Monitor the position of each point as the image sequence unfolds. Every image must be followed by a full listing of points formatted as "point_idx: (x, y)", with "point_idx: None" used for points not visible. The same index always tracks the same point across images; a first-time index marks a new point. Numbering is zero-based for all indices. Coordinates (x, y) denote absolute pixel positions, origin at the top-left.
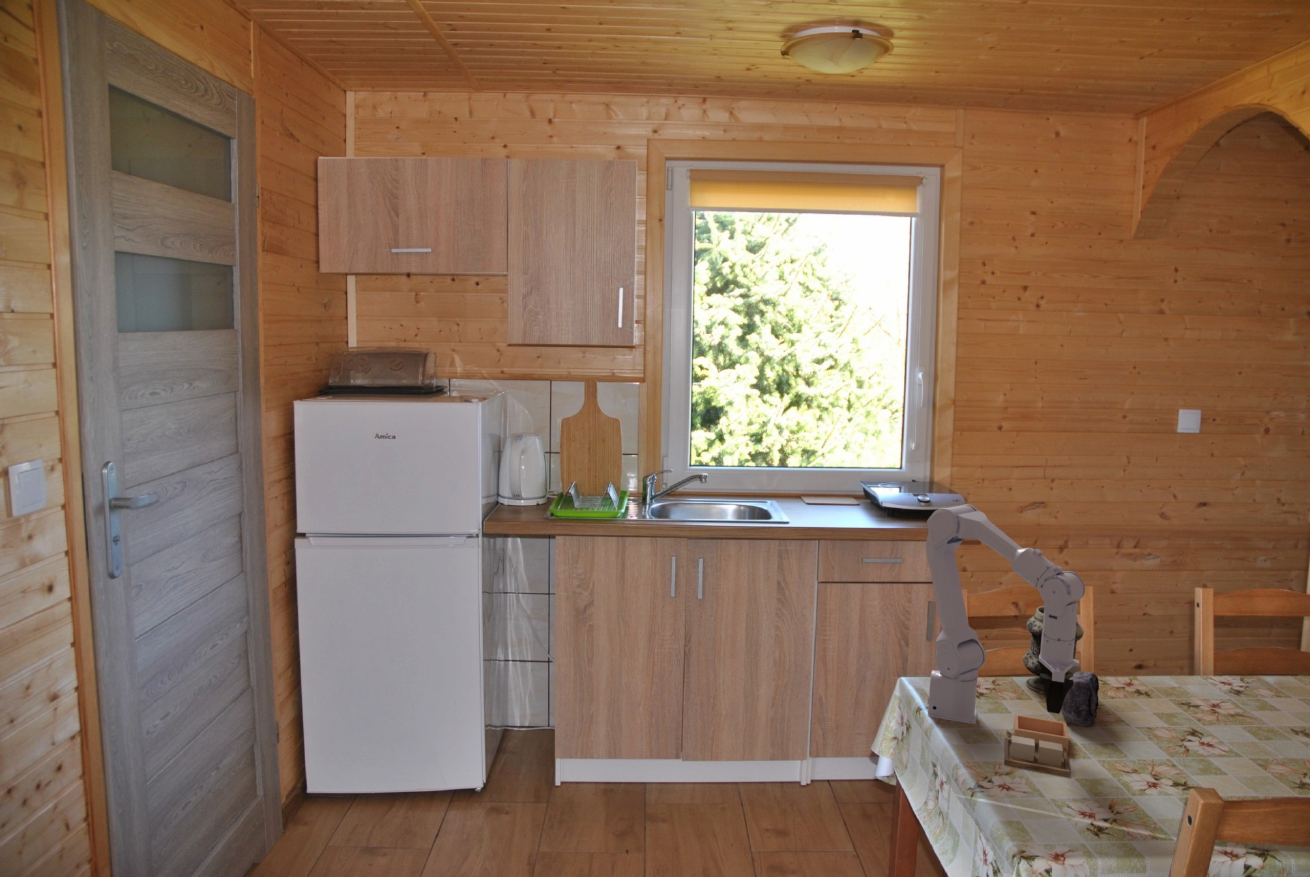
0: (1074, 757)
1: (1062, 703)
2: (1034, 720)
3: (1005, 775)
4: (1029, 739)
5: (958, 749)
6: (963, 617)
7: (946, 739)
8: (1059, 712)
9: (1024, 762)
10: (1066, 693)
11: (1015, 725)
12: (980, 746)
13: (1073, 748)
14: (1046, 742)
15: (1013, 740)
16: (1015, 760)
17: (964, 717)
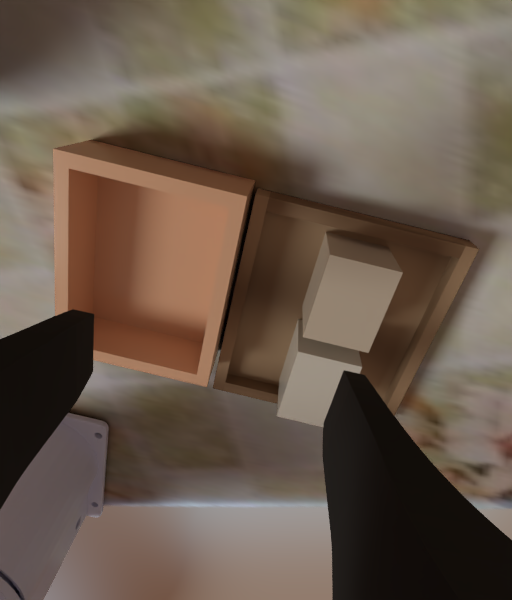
0: (277, 156)
1: (402, 428)
2: (72, 283)
3: (445, 426)
4: (302, 369)
5: (287, 490)
6: None
7: (229, 501)
8: (368, 381)
9: (403, 381)
10: (483, 519)
11: (169, 376)
12: (254, 439)
13: (186, 131)
14: (322, 315)
15: (322, 423)
16: (389, 403)
17: (88, 454)
